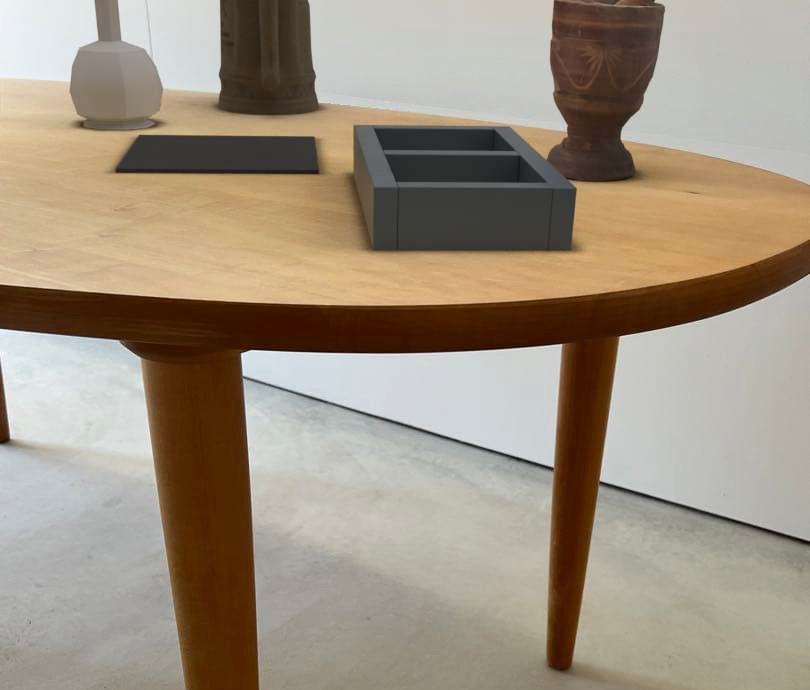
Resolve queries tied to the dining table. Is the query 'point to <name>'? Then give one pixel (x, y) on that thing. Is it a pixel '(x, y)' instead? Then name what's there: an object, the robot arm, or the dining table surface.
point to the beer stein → (266, 57)
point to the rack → (459, 189)
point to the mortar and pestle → (601, 80)
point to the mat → (221, 155)
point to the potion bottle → (114, 78)
